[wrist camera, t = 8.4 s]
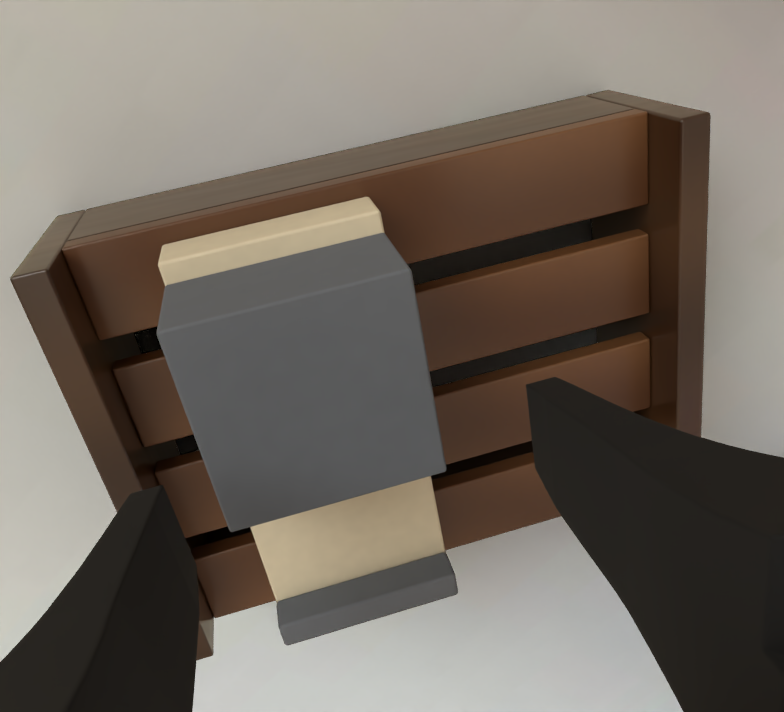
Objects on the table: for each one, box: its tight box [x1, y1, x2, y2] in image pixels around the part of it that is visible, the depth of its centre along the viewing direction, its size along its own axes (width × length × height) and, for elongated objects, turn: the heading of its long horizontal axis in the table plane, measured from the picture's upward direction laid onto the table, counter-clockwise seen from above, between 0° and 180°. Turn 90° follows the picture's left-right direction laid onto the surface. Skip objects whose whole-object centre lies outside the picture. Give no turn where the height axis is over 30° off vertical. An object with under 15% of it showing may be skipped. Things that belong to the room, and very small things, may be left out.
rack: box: [10, 90, 710, 660], centre depth 21 cm, size 12×16×5 cm
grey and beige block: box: [156, 197, 458, 645], centre depth 18 cm, size 11×5×4 cm, turn 10°
